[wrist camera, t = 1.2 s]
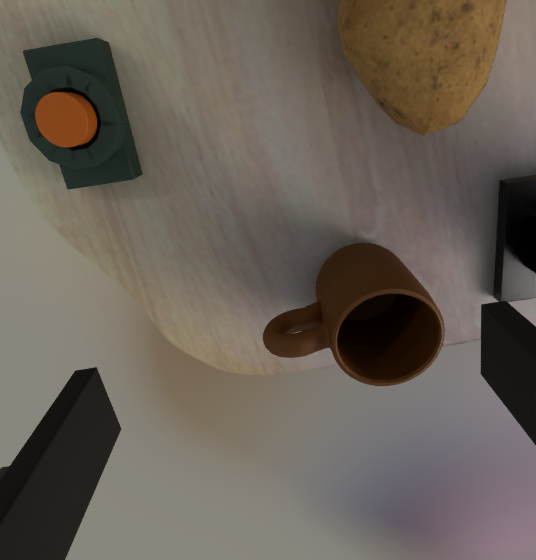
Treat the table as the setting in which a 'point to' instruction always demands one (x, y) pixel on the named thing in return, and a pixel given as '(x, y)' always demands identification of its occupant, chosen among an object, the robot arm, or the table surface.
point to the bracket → (516, 240)
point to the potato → (422, 55)
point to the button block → (104, 99)
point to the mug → (364, 318)
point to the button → (66, 119)
